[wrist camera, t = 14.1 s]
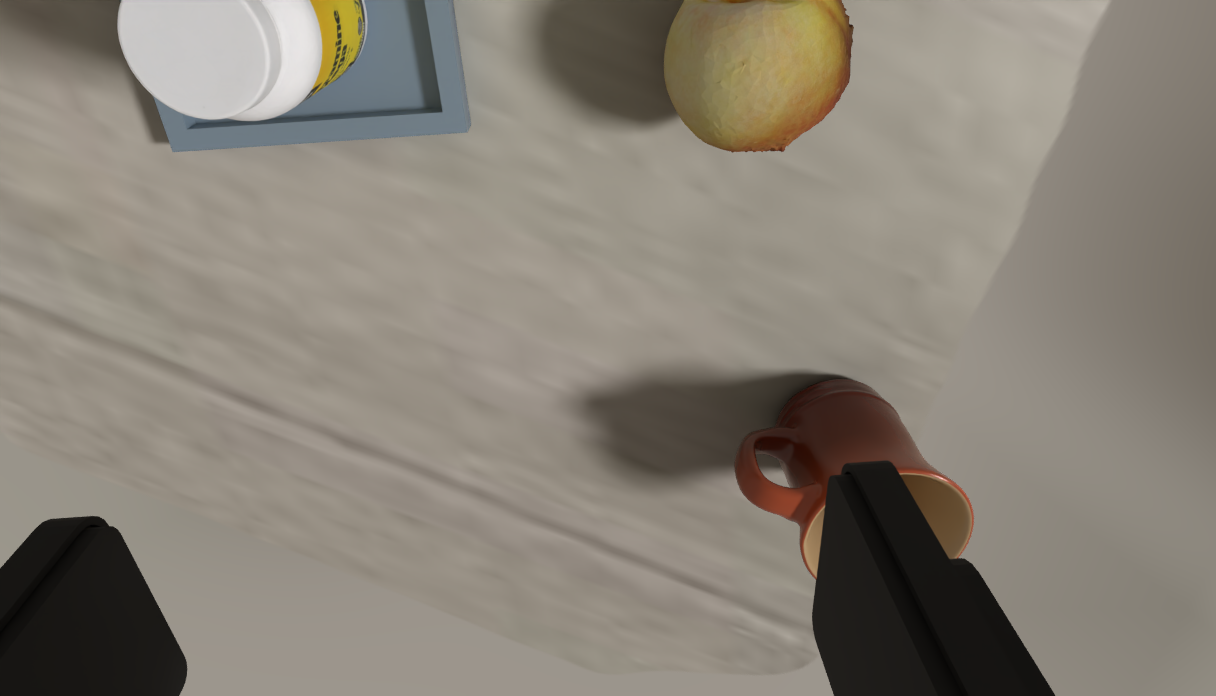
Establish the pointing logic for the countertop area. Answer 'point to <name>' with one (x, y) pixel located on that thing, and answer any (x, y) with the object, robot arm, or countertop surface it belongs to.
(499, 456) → the countertop surface
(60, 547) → the robot arm
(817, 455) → the mug
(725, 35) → the fruit
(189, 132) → the tray
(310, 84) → the pill bottle
